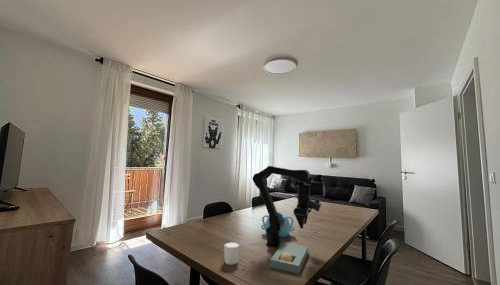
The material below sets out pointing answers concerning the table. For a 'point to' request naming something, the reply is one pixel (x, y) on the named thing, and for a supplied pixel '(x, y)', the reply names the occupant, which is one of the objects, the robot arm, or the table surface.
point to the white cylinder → (231, 252)
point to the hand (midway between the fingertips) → (303, 226)
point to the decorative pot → (285, 229)
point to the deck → (296, 253)
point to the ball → (286, 257)
